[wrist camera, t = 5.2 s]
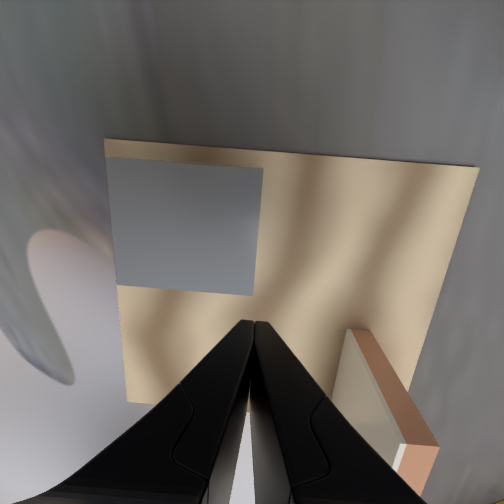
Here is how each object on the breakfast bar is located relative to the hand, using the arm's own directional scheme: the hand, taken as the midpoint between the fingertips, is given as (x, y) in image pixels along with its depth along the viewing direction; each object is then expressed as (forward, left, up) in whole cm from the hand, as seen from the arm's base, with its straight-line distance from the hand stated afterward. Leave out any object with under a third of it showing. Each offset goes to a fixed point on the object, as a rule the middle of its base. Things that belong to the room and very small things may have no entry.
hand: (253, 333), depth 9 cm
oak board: (-2, +5, -12) cm, 13 cm away
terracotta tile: (-8, +11, -12) cm, 18 cm away
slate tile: (0, 0, -11) cm, 11 cm away
